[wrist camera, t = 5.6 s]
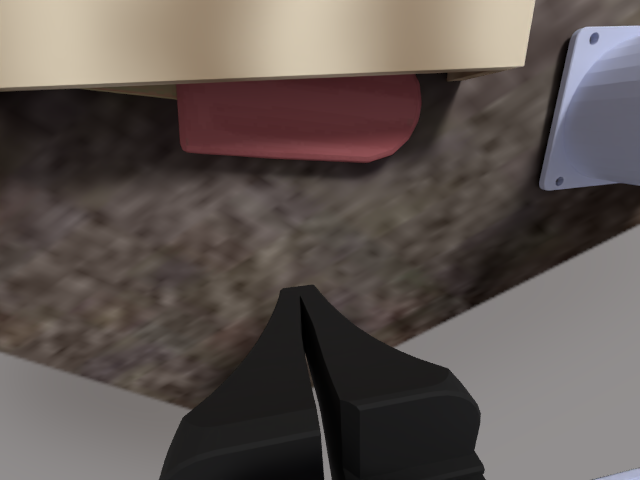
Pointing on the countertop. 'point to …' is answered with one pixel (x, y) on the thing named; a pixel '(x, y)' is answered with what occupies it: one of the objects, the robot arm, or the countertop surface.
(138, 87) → the popsicle
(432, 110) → the countertop surface
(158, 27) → the rail
